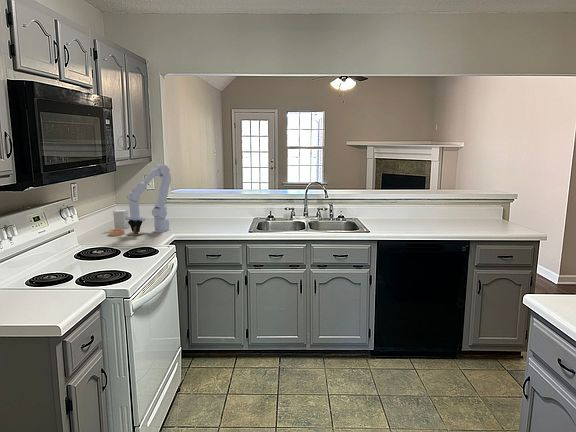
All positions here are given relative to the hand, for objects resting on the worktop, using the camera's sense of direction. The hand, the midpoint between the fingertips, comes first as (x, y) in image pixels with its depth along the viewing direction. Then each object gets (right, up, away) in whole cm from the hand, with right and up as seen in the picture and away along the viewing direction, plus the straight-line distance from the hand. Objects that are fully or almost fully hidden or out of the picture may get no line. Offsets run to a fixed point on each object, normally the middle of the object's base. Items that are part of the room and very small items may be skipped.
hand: (135, 231), depth 283 cm
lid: (0, -2, 0) cm, 2 cm away
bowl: (-13, -2, +1) cm, 13 cm away
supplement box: (-17, +1, +23) cm, 29 cm away
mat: (0, -2, +1) cm, 2 cm away
